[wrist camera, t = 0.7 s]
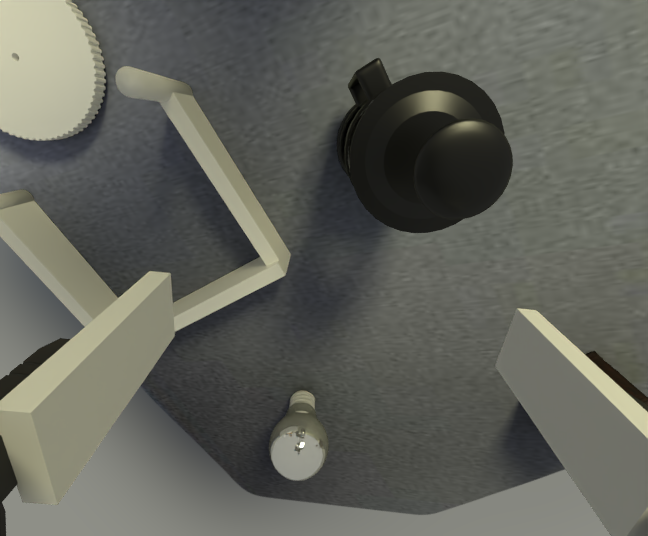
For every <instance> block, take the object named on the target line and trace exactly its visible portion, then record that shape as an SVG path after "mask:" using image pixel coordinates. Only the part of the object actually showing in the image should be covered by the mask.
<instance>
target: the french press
mask: <svg viewBox="0 0 648 536" xmlns="http://www.w3.org/2000/svg"><path fill="white" fill-rule="evenodd" d="M348 88H349V90H350V92H351V94H352V96H353V98H354V101H355V103H356V104H355V105H354V106H353V107H352V108H351V109H350V110H349V112H348V113H347V114H346V116H345V118H344V119H343V121H342V123H341V126H340V129H339V132H338V137H337V152H338V157H339V160H340V163H341V165H342V168H343V169H344V171H345V172H346V174H347V175H348V176H349V178H350V180H351V182H352V184H353V186H354V188H355V191H356V193H357V195H358V198H359V199H360V201H361V202H362V204H363V205H364V207H365V208H366V209H367V210H368V211H369V212H370V213H371V214H372V215H373V216H374V217H375V218H376V219H377V220H379V221H381V222H382V223H384V224H385V225H387V226H389V227H392V228H394V229H397V230H400V231H405V232H411V233H428V232H433V231H437V230H442V229H444V228H447V227H449V226H452V225H454V224H456V223H458V222H459V221H461V220H462V219H464V218H469V217H472V216H475V215H477V214H480V213H481V212H483V211H485V210H486V209H488V208H489V207H490V206H491V205H493V204H494V203H495V202H496V201H497V200H498V198H499V197H500V196H501V195H502V194H503V192H504V190H505V188H506V187H507V185H508V182H509V179H510V177H511V172H512V166H513V159H512V152H511V147H510V145H509V143H508V141H507V138H506V137H505V136H504V129H503V125H502V121H501V117H500V115H499V113H498V111H497V109H496V106H495V104H494V103H493V101H492V100H491V99H490V98H489V96H488V95H487V94H486V93H485V91H484V90H482V89H481V88H480V87H478V86H477V85H476V84H475V83H473V82H472V81H470V80H468V79H466V78H463V77H461V76H459V75H456V74H451V73H446V72H424V73H420V74H416V75H412V76H409V77H407V78H405V79H403V80H400V81H398V82H396V83H394V84H391V82H390V80H389V78H388V75H387V73H386V71H385V69H384V66H383V64H382V62H381V60H380V59H379V58H377V59H374V60H373V61H371V62H370V63H368V64H367V65H365V66H363V67H362V68H360V69H359V70H357V71H356V72H355V74H354V75H353V77H352V79H351V80H350V82H349V84H348Z"/></svg>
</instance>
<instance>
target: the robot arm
mask: <svg viewBox="0 0 648 536" xmlns="http://www.w3.org/2000/svg"><path fill="white" fill-rule="evenodd" d="M174 336H175V329H174V314H173V300H172V285H171V273H163V272H154V271H149V272H148V273H147V274H146V275H145V276H143V277H142V278H141V279H140V280H139V281H138V282H136V283H135V284H134V285H133V286H132V287H131V288H130V289H128V290H127V291H126V292H125V293H124V294H123V295H121V296H120V297H119V298H118V299H117V300H116V301H115V302H113V303H112V304H111V305H110V306H109V307H108V308H106V309H105V310H104V311H103V312H102V313H101V314H100V315H98V316H97V317H96V318H95V319H94V320H93V321H91V322H90V323H89V324H88V325H87V326H86V327H85V328H83V329H82V330H81V331H80V332H79V333H78V334H77V335H76V336H74V337H73V338H72V339H62V338H60V339H58V340H56V341H54V342H52V343H50V344H48V345H46V346H44V347H42V348H40V349H38V350H37V351H36V352H35V353H33V354H32V355H31V356H30V357H28V358H27V359H26V360H25V361H24V362H23V364H20V365H18V366H17V367H16V368H15V369H14V370H12V371H11V372H10V374H9V375H6V376H5V377H3V378H2V379H1V380H0V536H6V518H5V509H4V507H3V504H2V501H3V500H4V499H5V498H6V497H7V496H8V494H9V493H10V492H11V491H12V489H13V488H14V487H15V486H16V485H17V487H18V490H19V493H20V496H21V499H22V502H25V503H39V504H52V505H58V504H59V502H60V501H61V499H62V498H63V497H64V495H65V494H66V492H67V491H68V489H69V488H70V486H71V485H72V484H73V482H74V481H75V479H76V478H77V476H78V475H79V473H80V472H81V471H82V469H83V468H84V466H85V465H86V463H87V462H88V460H89V459H90V458H91V456H92V455H93V453H94V452H95V450H96V449H97V447H98V446H99V444H100V443H101V442H102V440H103V439H104V437H105V436H106V435H107V433H108V432H109V430H110V429H111V427H112V426H113V424H114V423H115V422H116V420H117V419H118V417H119V416H120V414H121V413H122V411H123V410H124V409H125V407H126V406H127V404H128V403H129V401H130V400H131V398H132V397H133V395H134V394H135V393H136V391H137V390H138V388H139V387H140V386H141V384H142V383H143V381H144V380H145V378H146V377H147V375H148V374H149V373H150V371H151V370H152V368H153V367H154V365H155V364H156V362H157V361H158V360H159V358H160V357H161V355H162V354H163V352H164V351H165V349H166V348H167V347H168V345H169V344H170V342H171V341H172V339H173V338H174ZM495 367H496V368H497V370H498V371H499V373H500V374H501V376H502V377H503V379H504V380H505V381H506V383H507V384H508V386H509V387H510V389H511V390H512V392H513V393H514V395H515V396H516V398H517V399H518V400H519V402H520V403H521V405H522V406H523V408H524V409H525V411H526V412H527V414H528V415H529V417H530V418H531V419H532V421H533V422H534V424H535V425H536V427H537V428H538V430H539V431H540V433H541V434H542V436H543V437H544V438H545V440H546V441H547V443H548V444H549V446H550V447H551V449H552V450H553V452H554V453H555V455H556V456H557V458H558V459H559V460H560V462H561V463H562V465H563V466H564V468H565V469H566V471H567V472H568V474H569V475H570V477H571V478H572V479H573V481H574V482H575V484H576V485H577V487H578V488H579V490H580V491H581V493H582V494H583V496H584V497H585V498H586V500H587V501H588V503H589V504H590V506H591V507H592V509H593V510H594V512H595V513H596V515H597V516H598V517H599V519H600V520H601V522H602V523H603V525H604V526H605V528H606V529H607V531H608V532H609V534H610V535H611V536H648V406H647V405H646V404H645V403H643V402H642V401H640V400H639V399H637V398H636V397H634V396H632V395H631V394H629V393H628V392H626V391H625V390H623V389H622V388H621V387H620V386H619V385H617V384H616V383H615V382H614V381H613V380H612V379H611V378H610V377H609V376H608V375H607V374H605V373H604V372H603V371H602V370H601V369H600V368H599V367H598V366H597V365H596V364H594V363H593V362H592V361H591V360H590V359H589V358H588V357H587V356H586V355H585V354H583V353H582V352H581V351H580V350H579V349H578V348H577V347H576V346H575V345H574V344H572V343H571V342H570V341H569V340H568V339H567V338H566V337H565V336H564V335H563V334H562V333H560V332H559V331H558V330H557V329H556V328H555V327H554V326H553V325H552V324H551V323H549V322H548V321H547V320H546V319H545V318H544V317H543V316H542V315H541V314H540V313H538V312H537V311H536V310H528V309H518V308H517V309H516V312H515V314H514V317H513V320H512V322H511V325H510V328H509V330H508V333H507V336H506V338H505V341H504V344H503V346H502V349H501V351H500V354H499V357H498V359H497V362H496V365H495Z"/></svg>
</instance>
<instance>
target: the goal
mask: <svg viewBox="0 0 648 536" xmlns="http://www.w3.org/2000/svg"><path fill="white" fill-rule="evenodd" d="M115 80H116V85H117V87H118V89H119V90H120V92H121V93H122V94H123V95H125V96H127V97H130V98H136V99H144V100H151V101H159V103H160V104H161V106H162V107H163V109H164V110H165V112H166V114H167V115H168V117H169V118H170V120H171V121H172V123H173V124H174V126H175V127H176V129H177V130H178V132H179V133H180V135H181V136H182V138H183V139H184V141H185V142H186V144H187V146H188V147H189V149H190V150H191V152H192V153H193V155H194V156H195V158H196V159H197V161H198V162H199V164H200V165H201V167H202V168H203V170H204V171H205V173H206V175H207V176H208V178H209V179H210V181H211V182H212V184H213V185H214V187H215V188H216V190H217V191H218V193H219V194H220V196H221V197H222V199H223V200H224V202H225V203H226V205H227V207H228V208H229V210H230V211H231V213H232V214H233V216H234V217H235V219H236V220H237V222H238V223H239V225H240V226H241V228H242V229H243V231H244V232H245V234H246V235H247V237H248V239H249V240H250V242H251V243H252V245H253V246H254V248H255V249H256V251H257V252H258V254H259V255H260V257H259V258H257V259H255V260H253V261H251V262H249V263H247V264H245V265H243V266H242V267H240V268H238V269H236V270H234V271H232V272H230V273H228V274H226V275H225V276H223V277H221V278H219V279H217V280H215V281H213V282H211V283H210V284H208V285H206V286H204V287H202V288H200V289H198V290H196V291H194V292H193V293H191V294H189V295H187V296H185V297H183V298H181V299H179V300H177V301H176V302H174V303H173V314H174V329H175V332H176V331H178V330H179V329H181V328H183V327H185V326H187V325H189V324H191V323H193V322H195V321H197V320H199V319H201V318H203V317H205V316H207V315H209V314H211V313H213V312H215V311H217V310H219V309H221V308H223V307H225V306H227V305H228V304H230V303H232V302H234V301H236V300H238V299H240V298H242V297H244V296H246V295H248V294H250V293H252V292H254V291H256V290H258V289H260V288H262V287H264V286H266V285H268V284H270V283H272V282H274V281H276V280H277V279H279V278H281V277H283V276H285V275H286V272H287V268H288V264H289V261H290V257H291V254H290V252H289V250H288V249H287V247H286V246H285V244H284V242H283V241H282V239H281V238H280V236H279V234H278V233H277V231H276V229H275V228H274V226H273V225H272V223H271V221H270V220H269V218H268V217H267V215H266V213H265V212H264V210H263V208H262V207H261V205H260V204H259V202H258V200H257V199H256V197H255V196H254V194H253V192H252V191H251V189H250V187H249V186H248V184H247V183H246V181H245V179H244V178H243V176H242V174H241V173H240V171H239V170H238V168H237V166H236V165H235V163H234V162H233V160H232V158H231V157H230V155H229V153H228V152H227V150H226V149H225V147H224V145H223V144H222V142H221V141H220V139H219V137H218V136H217V134H216V132H215V131H214V129H213V128H212V126H211V124H210V123H209V121H208V120H207V118H206V116H205V115H204V113H203V111H202V110H201V108H200V107H199V105H198V103H197V102H196V100H195V99H194V97H193V92H192V89H191V87H190V86H189V85H188V84H186V83H184V82H181V81H177V80H174V79H170V78H167V77H164V76H160V75H157V74H153V73H150V72H146V71H143V70H140V69H136V68H133V67H129V66H125V67H122V68H120V69H119V70H118V71H117V73H116V77H115ZM0 237H1V238H2V239H3V240H4V241H5V242H6V243H7V244H8V245H9V247H10V248H11V249H12V250H13V251H14V252H15V253H16V254H17V255H18V256H19V257H20V258H21V259H22V260H23V262H25V264H26V265H28V267H29V268H30V269H31V270H32V271H33V272H34V273H35V274H36V275H37V276H38V278H39V279H40V280H41V281H42V282H43V283H44V284H45V285H46V286H47V287H48V288H49V289H50V290H51V291H52V292H53V293H54V294H55V296H56V297H57V298H58V299H59V300H60V301H61V302H62V303H63V304H64V305H65V306H66V307H67V308H68V309H69V310H70V312H71V313H72V314H73V315H74V316H75V317H76V318H77V319H78V320H79V321H80V322H81V323H82V325H83V326H84V327H86V326H87V325H88V324H89V323H90V322H91V321H93V320H94V319H95V318H96V317H97V316H98V315H100V314H101V313H102V312H103V311H104V310H105V309H106V308H108V307H109V306H110V305H111V304H112V303H113V302H115V301H116V300H117V299H118V297H117V296H116V295H115V294H114V293H113V291H112V290H111V289H110V288H109V287H108V286H107V285H106V283H105V282H104V281H103V280H102V279H101V278H100V276H99V275H98V274H97V273H96V272H95V271H94V269H93V268H92V267H91V266H90V265H89V264H88V263H87V261H86V260H85V259H84V258H83V257H82V256H81V254H80V253H79V252H78V251H77V250H76V249H75V247H74V246H73V245H72V244H71V243H70V242H69V240H68V239H67V238H66V237H65V236H64V235H63V234H62V232H61V231H60V230H59V229H58V228H57V227H56V225H55V224H54V223H53V222H52V221H51V220H50V218H49V217H48V216H47V215H46V214H45V213H44V212H43V210H42V209H41V208H40V207H39V206H38V205H37V203H36V202H35V201H34V198H33V196H32V195H31V193H29V192H28V191H26V190H22V189H21V190H16V191H11V192H7V193H2V194H0Z"/></svg>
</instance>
